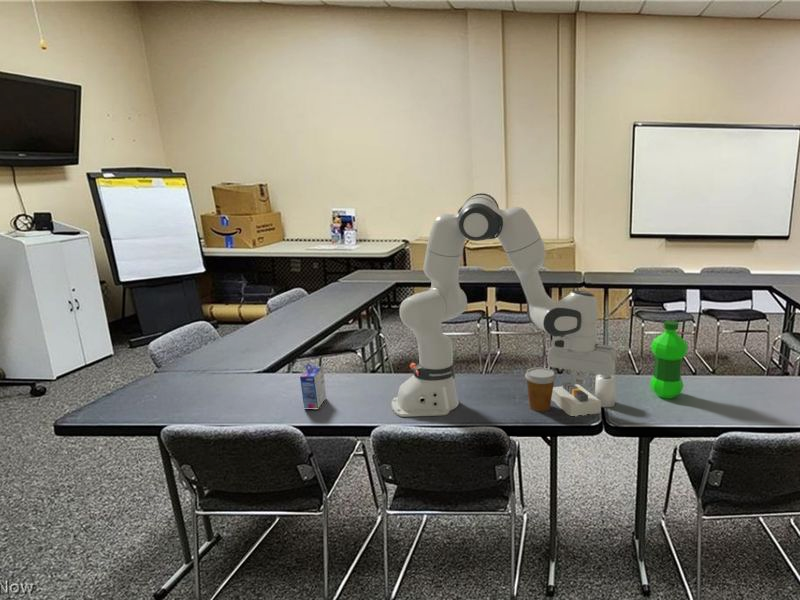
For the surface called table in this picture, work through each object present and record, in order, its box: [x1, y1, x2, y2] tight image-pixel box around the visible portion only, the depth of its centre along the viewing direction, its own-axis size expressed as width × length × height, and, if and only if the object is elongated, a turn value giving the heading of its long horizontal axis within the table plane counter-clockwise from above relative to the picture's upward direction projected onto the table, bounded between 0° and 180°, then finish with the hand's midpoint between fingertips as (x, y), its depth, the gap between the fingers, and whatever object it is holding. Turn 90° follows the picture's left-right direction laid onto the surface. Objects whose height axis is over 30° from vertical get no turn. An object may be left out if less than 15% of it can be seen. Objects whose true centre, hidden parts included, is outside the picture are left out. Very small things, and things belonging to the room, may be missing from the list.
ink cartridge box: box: [299, 362, 327, 409], centre depth 176 cm, size 10×6×14 cm, turn 172°
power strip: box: [551, 380, 602, 417], centre depth 170 cm, size 10×22×6 cm, turn 10°
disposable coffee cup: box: [524, 367, 557, 412], centre depth 165 cm, size 10×10×12 cm
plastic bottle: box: [649, 320, 689, 400], centre depth 168 cm, size 10×10×25 cm
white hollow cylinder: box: [594, 374, 617, 408], centre depth 166 cm, size 6×6×9 cm
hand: (579, 383), depth 164 cm, fingers closed
